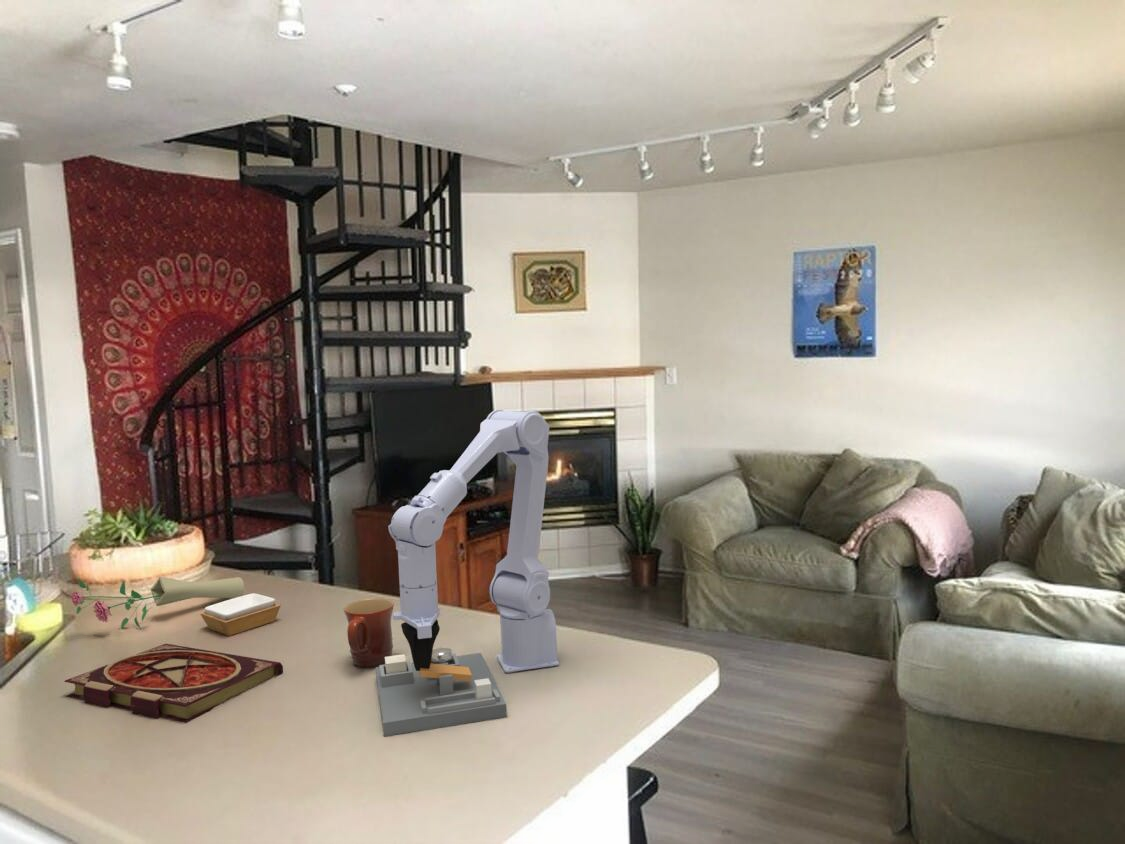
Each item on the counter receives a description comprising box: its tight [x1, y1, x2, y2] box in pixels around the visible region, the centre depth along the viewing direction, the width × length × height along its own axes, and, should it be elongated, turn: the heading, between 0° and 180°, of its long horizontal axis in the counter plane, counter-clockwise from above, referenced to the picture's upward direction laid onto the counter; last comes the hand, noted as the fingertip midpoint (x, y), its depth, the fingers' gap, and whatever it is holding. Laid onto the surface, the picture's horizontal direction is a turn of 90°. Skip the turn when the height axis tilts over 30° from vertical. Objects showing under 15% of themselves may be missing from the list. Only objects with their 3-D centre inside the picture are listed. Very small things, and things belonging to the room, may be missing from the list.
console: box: [375, 652, 508, 737], centre depth 133 cm, size 18×22×5 cm
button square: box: [384, 654, 407, 674], centre depth 135 cm, size 3×3×2 cm
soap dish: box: [200, 592, 281, 637], centre depth 172 cm, size 12×10×5 cm
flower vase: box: [70, 576, 245, 629], centre depth 178 cm, size 12×12×35 cm
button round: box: [431, 647, 453, 665], centre depth 138 cm, size 3×3×2 cm
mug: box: [343, 597, 395, 668], centre depth 147 cm, size 12×9×10 cm
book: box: [64, 643, 284, 724], centre depth 142 cm, size 28×21×5 cm
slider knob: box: [474, 678, 492, 700], centre depth 126 cm, size 2×2×3 cm
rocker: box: [418, 663, 472, 681], centre depth 131 cm, size 8×4×1 cm, turn 105°
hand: (422, 668), depth 130 cm, fingers closed, pressing on rocker
